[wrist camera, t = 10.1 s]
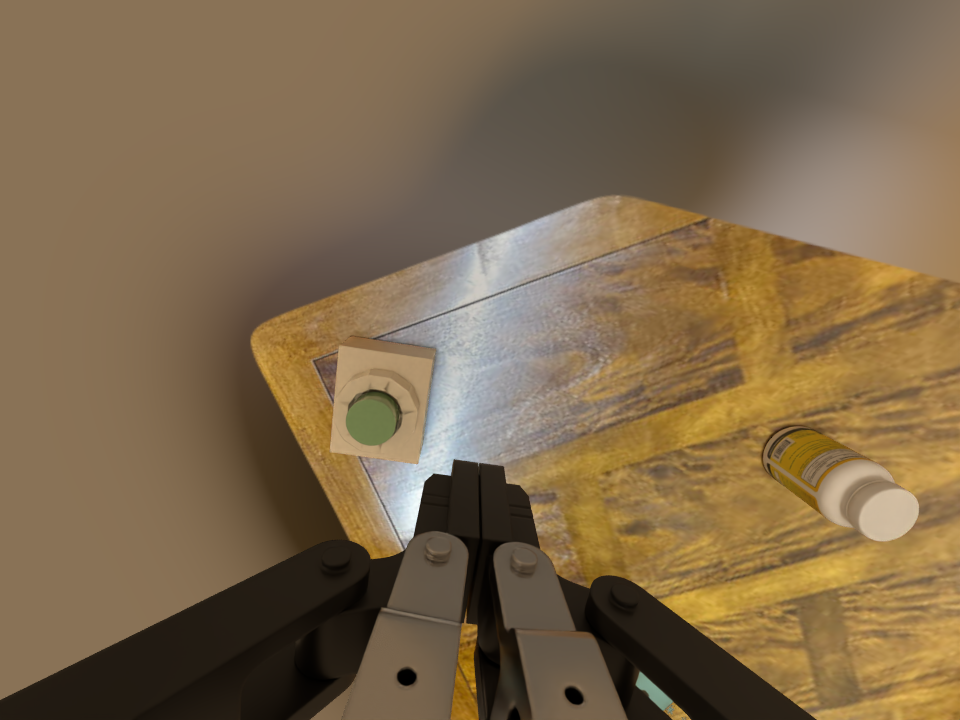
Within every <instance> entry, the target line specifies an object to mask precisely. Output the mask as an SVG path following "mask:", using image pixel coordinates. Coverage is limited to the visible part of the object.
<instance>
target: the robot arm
mask: <svg viewBox="0 0 960 720" xmlns="http://www.w3.org/2000/svg"><path fill="white" fill-rule="evenodd" d="M466 608H467V620H466V623H468V624H477V626H478V636H477V641H476V646H475V651H474V666H475V678H476V690H477V702H478V714H479V720H672V719H671V718H670V717H669V716H668V715H667V714H666V713H665V712H664V711H663V710H662V709H661V708H659V707H658V706H657V705H656V704H655V703H654V702H653V701H652V700H651V699H650V698H649V697H648V696H647V695H646V694H645V693H644V692H643V691H641V690H640V689H639V688H638V687H637V686H636V682H637V679H638V676H639V673H640V672H641V673H642V674H644V675H645V676H646V677H647V678H648V679H649V680H650V681H651V682H652V683H653V684H655V685H656V686H657V687H658V688H659V689H660V690H661V691H662V692H663V693H664V694H665V695H667V696H668V697H669V698H670V699H671V700H672V701H673V702H674V703H675V704H676V705H678V706H679V707H680V708H681V709H682V710H683V711H684V712H685V713H686V714H687V715H688V716H689V717H690V719H691V720H816V719H815V718H814V717H812V716H811V715H810V714H808V713H807V712H806V711H804V710H803V709H802V708H800V707H799V706H798V705H796V704H795V703H794V702H792V701H791V700H790V699H788V698H787V697H786V696H784V695H783V694H782V693H780V692H779V691H778V690H776V689H775V688H774V687H772V686H771V685H770V684H768V683H767V682H766V681H765V680H763V679H762V678H761V677H759V676H758V675H757V674H755V673H754V672H753V671H751V670H750V669H749V668H747V667H746V666H745V665H743V664H742V663H741V662H739V661H738V660H737V659H735V658H734V657H733V656H731V655H730V654H729V653H727V652H726V651H725V650H723V649H722V648H721V647H719V646H718V645H717V644H715V643H714V642H713V641H711V640H710V639H709V638H707V637H706V636H705V635H703V634H702V633H701V632H699V631H698V630H697V629H695V628H694V627H693V626H691V625H690V624H689V623H688V622H686V621H685V620H684V619H682V618H681V617H680V616H678V615H677V614H676V613H674V612H673V611H672V610H670V609H669V608H668V607H666V606H665V605H664V604H662V603H661V602H660V601H658V600H657V599H656V598H654V597H653V596H652V595H650V594H649V593H648V592H646V591H645V590H644V589H642V588H641V587H640V586H638V585H637V584H635V583H633V582H631V581H629V580H627V579H624V578H621V577H617V576H610V575H608V576H601V577H598V578H596V579H595V580H594V581H593V582H592V585H591V588H590V589H589V588H586V587H583V586H581V585H578V584H575V583H573V582H570V581H568V580H566V579H564V578H562V577H560V576H559V575H557V574H556V571H555V568H554V566H553V563H552V561H551V560H550V558H549V557H548V556H547V555H546V554H545V553H544V552H543V551H541V550H540V546H539V542H538V537H537V533H536V528H535V523H534V519H533V514H532V510H531V505H530V501H529V496H528V495H527V494H526V493H525V491H524V490H523V489H522V488H521V487H520V485H514V484H506V479H505V471H504V466H498V465H491V464H484V463H479V466H478V463H476V462H469V461H462V460H455V459H454V461H453V466H452V472H451V476H448V475H441V474H433V475H432V476H431V477H429V478H428V479H427V480H426V481H425V483H424V488H423V493H422V498H421V503H420V508H419V513H418V517H417V522H416V527H415V532H414V537H413V538H412V539H411V540H410V542H409V543H408V545H407V548H406V549H405V550H404V551H402V552H401V553H399V554H396V555H394V556H391V557H386V558H379V559H370V555H369V553H368V552H367V550H366V549H365V548H364V547H362V546H361V545H359V544H357V543H355V542H352V541H347V540H331V541H326V542H322V543H320V544H317V545H315V546H313V547H311V548H309V549H307V550H305V551H303V552H301V553H299V554H297V555H295V556H293V557H291V558H289V559H287V560H285V561H283V562H281V563H279V564H276V565H274V566H272V567H270V568H269V569H267V570H264V571H262V572H260V573H258V574H256V575H254V576H252V577H250V578H248V579H246V580H244V581H242V582H240V583H238V584H236V585H234V586H232V587H230V588H228V589H226V590H224V591H222V592H219V593H217V594H215V595H213V596H211V597H209V598H207V599H205V600H203V601H201V602H199V603H197V604H195V605H193V606H191V607H189V608H187V609H185V610H183V611H181V612H179V613H177V614H175V615H173V616H171V617H169V618H167V619H165V620H163V621H160V622H159V623H156V624H154V625H152V626H150V627H148V628H146V629H144V630H142V631H140V632H138V633H136V634H134V635H132V636H130V637H128V638H126V639H124V640H122V641H120V642H118V643H116V644H114V645H112V646H110V647H107V648H105V649H103V650H101V651H99V652H97V653H95V654H93V655H91V656H89V657H87V658H85V659H83V660H81V661H79V662H77V663H75V664H73V665H71V666H69V667H67V668H65V669H63V670H61V671H59V672H57V673H55V674H53V675H50V676H48V677H47V678H45V679H42V680H40V681H38V682H36V683H34V684H32V685H30V686H28V687H26V688H24V689H22V690H20V691H18V692H16V693H14V694H12V695H10V696H8V697H6V698H4V699H2V700H0V720H310V719H311V718H312V717H314V716H315V715H316V714H317V713H318V712H320V711H321V710H322V709H323V708H324V707H326V706H327V705H328V704H329V703H330V702H332V701H333V700H334V699H335V698H336V697H338V696H339V695H340V694H341V693H342V692H344V691H345V690H346V689H347V688H348V687H349V686H350V685H351V683H352V682H353V681H354V679H355V677H356V679H355V682H354V685H353V688H352V690H351V693H350V696H349V699H348V702H347V705H346V707H345V710H344V713H343V716H342V719H341V720H450V718H451V709H452V701H453V693H454V684H455V676H456V668H457V660H458V651H459V643H460V635H461V626H462V623H464V618H465V613H466ZM356 674H357V676H356Z"/></svg>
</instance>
